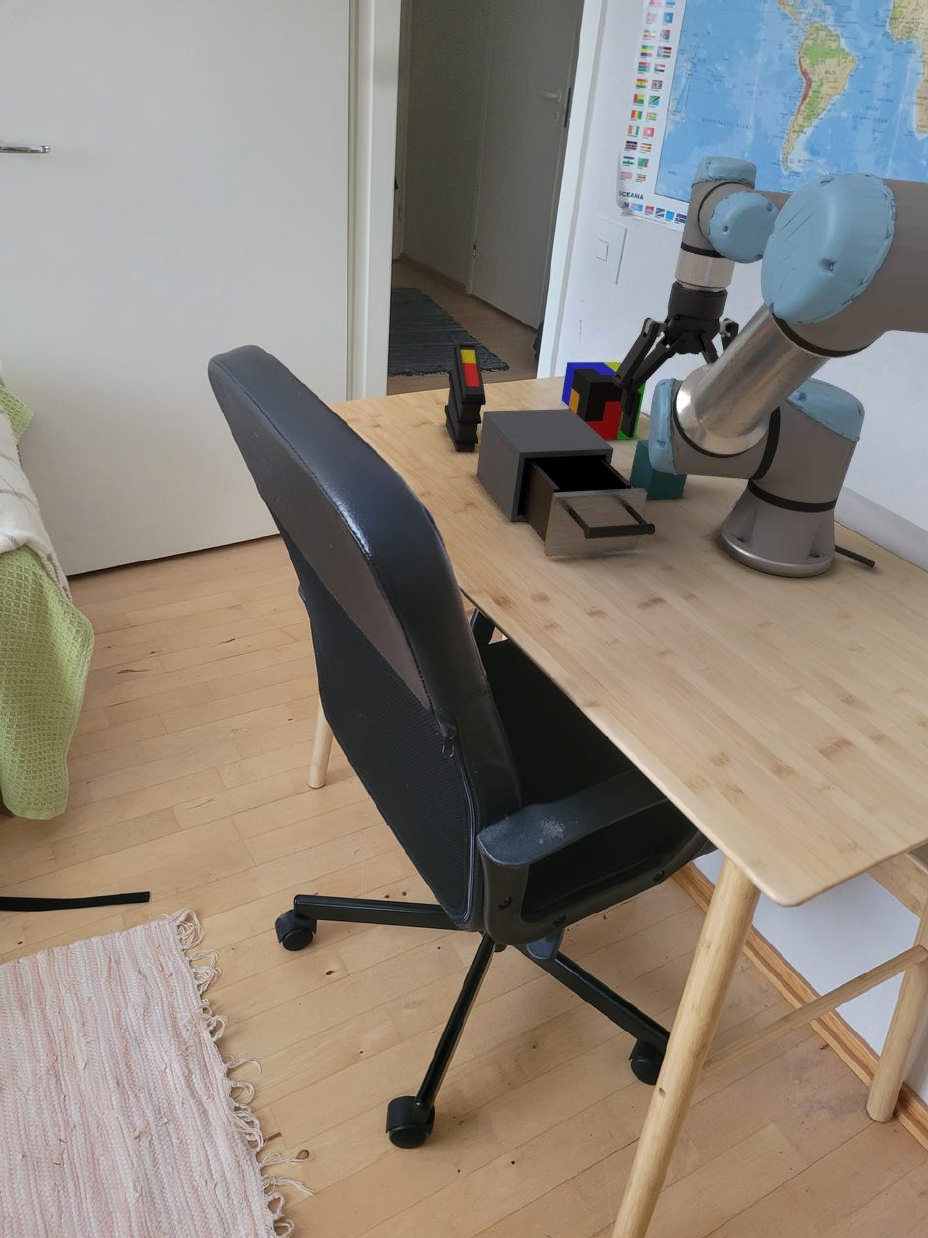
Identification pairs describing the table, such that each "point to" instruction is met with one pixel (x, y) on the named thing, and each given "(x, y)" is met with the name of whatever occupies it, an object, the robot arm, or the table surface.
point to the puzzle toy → (596, 397)
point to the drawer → (581, 505)
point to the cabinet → (529, 448)
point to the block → (654, 476)
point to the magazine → (465, 398)
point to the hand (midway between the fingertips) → (667, 432)
